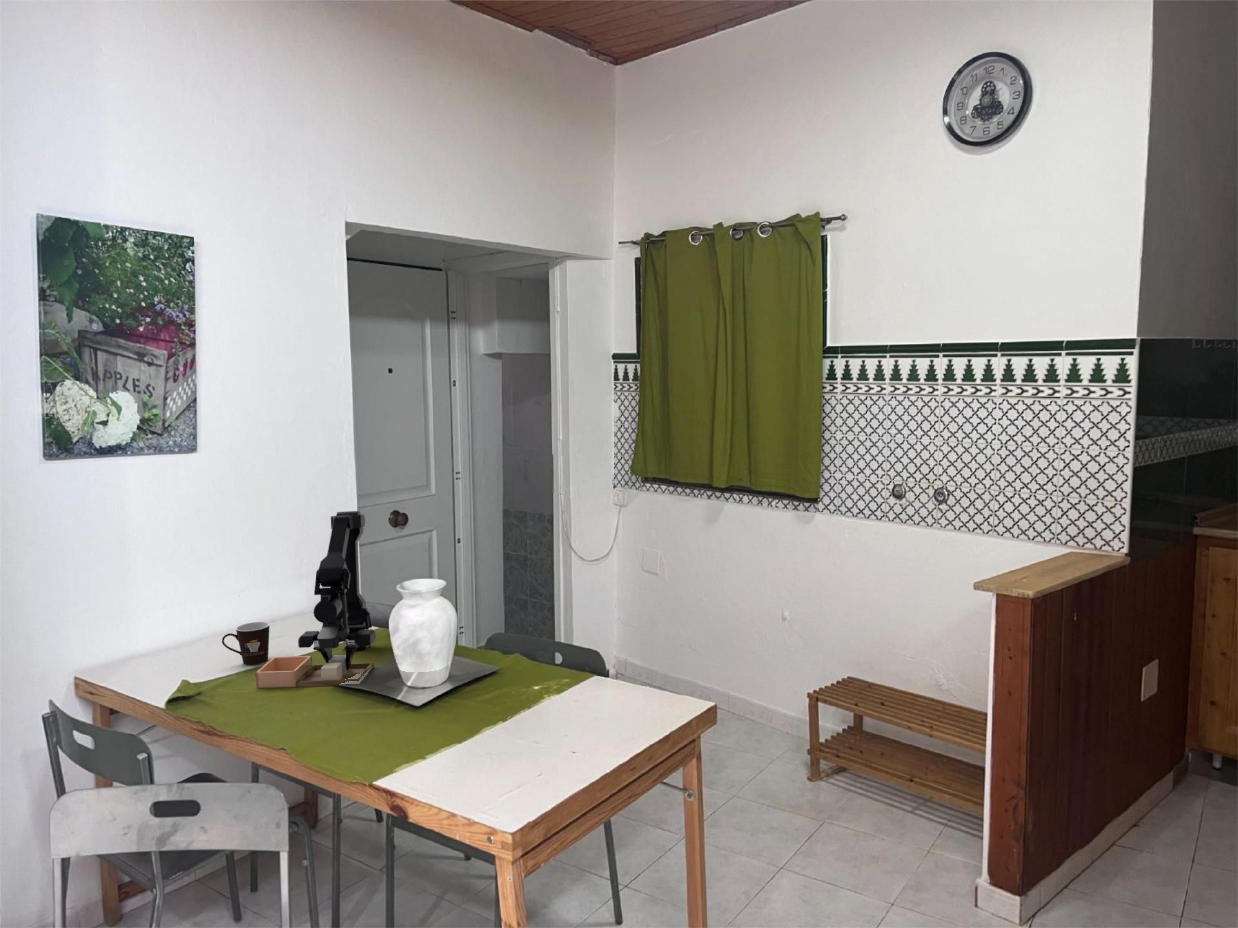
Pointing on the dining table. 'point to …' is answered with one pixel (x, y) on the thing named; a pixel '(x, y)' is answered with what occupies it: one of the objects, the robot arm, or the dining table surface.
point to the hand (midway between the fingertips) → (339, 670)
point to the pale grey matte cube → (340, 660)
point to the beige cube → (331, 671)
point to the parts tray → (314, 679)
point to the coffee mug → (252, 642)
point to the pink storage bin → (282, 671)
